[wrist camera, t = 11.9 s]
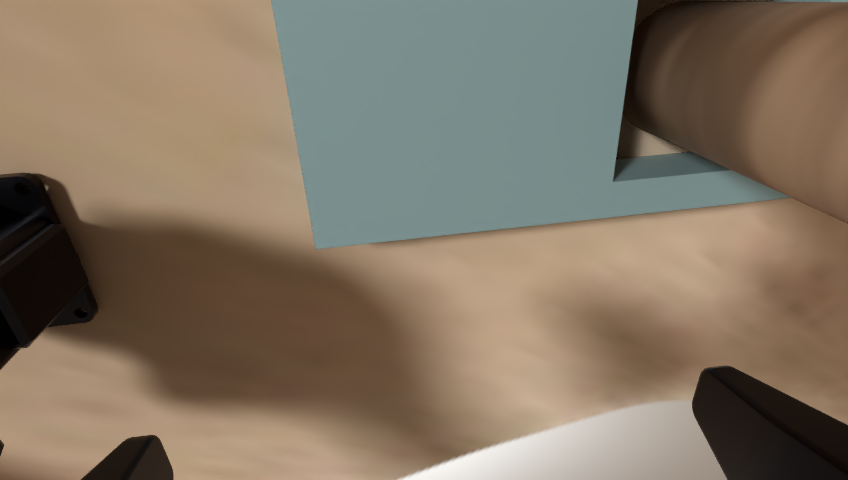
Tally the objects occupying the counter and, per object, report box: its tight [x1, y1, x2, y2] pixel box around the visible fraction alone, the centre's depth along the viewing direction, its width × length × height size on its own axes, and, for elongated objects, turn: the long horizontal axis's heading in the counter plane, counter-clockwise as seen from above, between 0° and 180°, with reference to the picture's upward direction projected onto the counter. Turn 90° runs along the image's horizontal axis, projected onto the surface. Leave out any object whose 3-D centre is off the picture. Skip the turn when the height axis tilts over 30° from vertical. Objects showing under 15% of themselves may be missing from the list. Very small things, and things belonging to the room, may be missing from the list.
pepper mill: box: [622, 1, 848, 223], centre depth 12 cm, size 5×5×15 cm
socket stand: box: [271, 0, 848, 249], centre depth 18 cm, size 20×10×2 cm, turn 93°
